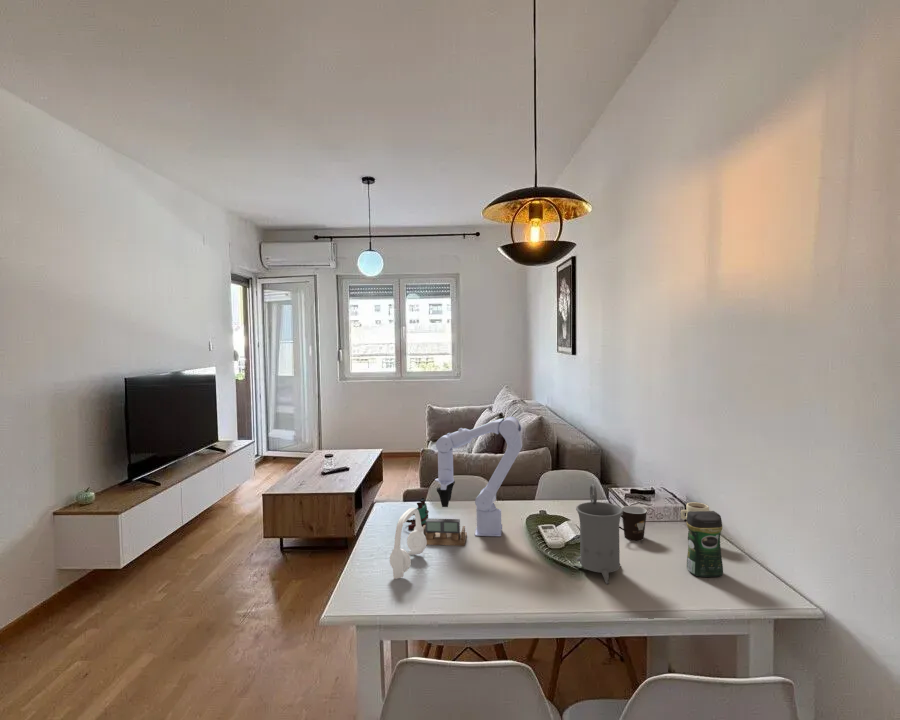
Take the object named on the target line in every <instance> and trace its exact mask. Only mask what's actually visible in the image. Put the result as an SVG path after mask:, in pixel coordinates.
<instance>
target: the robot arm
mask: <svg viewBox="0 0 900 720" xmlns="http://www.w3.org/2000/svg"><path fill="white" fill-rule="evenodd" d="M522 430H523V428H522V426H521V423H520V421H519V420H518V419H517V418H516V417H514V416H511V415H509V416H507V417H505V418H504V417H503V418H499V419H495V420H492V421H489V422H487V423H485V424H482V425H479V426H476V427H474V428H472V429H468V428H463V427H460V428H458V430H457V431H454V432H448V433H446V434H444V435H442V436H440V438H438V439H437V440H436V442H435V448H436V450H437V470H438V471H437V477H438V478H435V479H434V481H435V482H437V483H438V484H439V485H440V487H437V488H436V492H437V493H438V497H439V500H440V503H441V508H448V507H449V502H450V501H451V499H452V495H453V494H452V493H453V488H454V485H455V483H456V481H455V479H454V454H453V453H454V450H453V449H457V448H460V447H463V446H465V445H469V444H471V442H472V440H473V439H474V438H477V437H480V436H484V435H487V434H489V433H493V434H496V435H499V434H500V435H501V436H502V437H503V439H504V440H505V442H506V445H507V448H506V450H505V452H504V454H503V455H502V457H501V459H500V461H499V462H498V464H497V466H496V468H495V469H494V472H493V473H492V474H491V477H490V479H489V480H488V482H487V484H486V486H485V487H483V488H482V489H480V493H479V494H478V495H477V496H476V497H475V500H474V504H475V507H476V509H475V510H476V511H475V512H476V518H475V519H476V527H475V533H474V536H475V537H477V536H478V537H502V530H503V523H502V508H497V506H496V504H495V501H496V499H497V494H498V493H497V492H498V491H499V488H500V487H501V485H502V484H503V482H504V480H505V479H506V477H507V475H508V474H509V471H510V469H512V466H513V464H514V463H515V461H516V458H517V457H518V456H519V454H520V452H521V450H522V448H523V437H522V436H523V435H522Z"/></svg>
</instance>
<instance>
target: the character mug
mask: <svg viewBox="0 0 900 720" xmlns="http://www.w3.org/2000/svg"><path fill="white" fill-rule="evenodd" d="M685 508H686V509H681V510H680V519H681V520H686V521H687V513H688V512H689V511H710V507H709V505H708V504H705V503H701V502H695V501H693V502H692V501H691V502H688V503H686V506H685ZM684 514H685V515H684ZM687 540H688V541H689V530H688V533H687Z"/></svg>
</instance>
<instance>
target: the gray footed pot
mask: <svg viewBox="0 0 900 720" xmlns="http://www.w3.org/2000/svg"><path fill="white" fill-rule="evenodd" d="M597 493H598V492H597V487H596V485H595V483H592V484H590V486H589V498H590V501H588V502H582V503H579V504H577V506H576V507H575V510H576V511H577V512H576V513H578V518H579V542H580V545H579V547H580V550H579V552H580V555H579V556H578V557H576V559H575V561H576V560H577V561H580V566H581V567H583V568H584V569H586V570H587V571H591V572H594V573H601V575H602V577H603V580H604V582H605V584H606V585H609V584H610V583H609V579H610V578H609V577H610V576H609V574H610V573H613V572H616V571H618V570H619V569H620V566H621V563H620V555H621V554H620V552H621V551H620V528H619V526H620V523H621V522H620V521H621V518H622V517H621V515H622V513H623V510H622V509H621V508H622V507H620V506H618V505H616V504H614V503H609V502H603V501H602V502H600V501H597V500H598V494H597Z"/></svg>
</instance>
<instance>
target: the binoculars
mask: <svg viewBox="0 0 900 720" xmlns="http://www.w3.org/2000/svg"><path fill="white" fill-rule="evenodd" d="M416 505H417V507H415V508H416V509H418V511H419V514H420V519H421V525H422V527H423V525H426V519H427V518H429V510H428V506H427V503H426V498H425V497H420V498H419V502H416ZM412 516H415V515H414V514H413V515H412ZM405 523H411V524H408V525H407V526H408V527H407V528H408V530H412V529H413V530H414V527H415V526H416V521H415V517H413V519H408V520H407V521H406V522H405Z"/></svg>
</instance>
